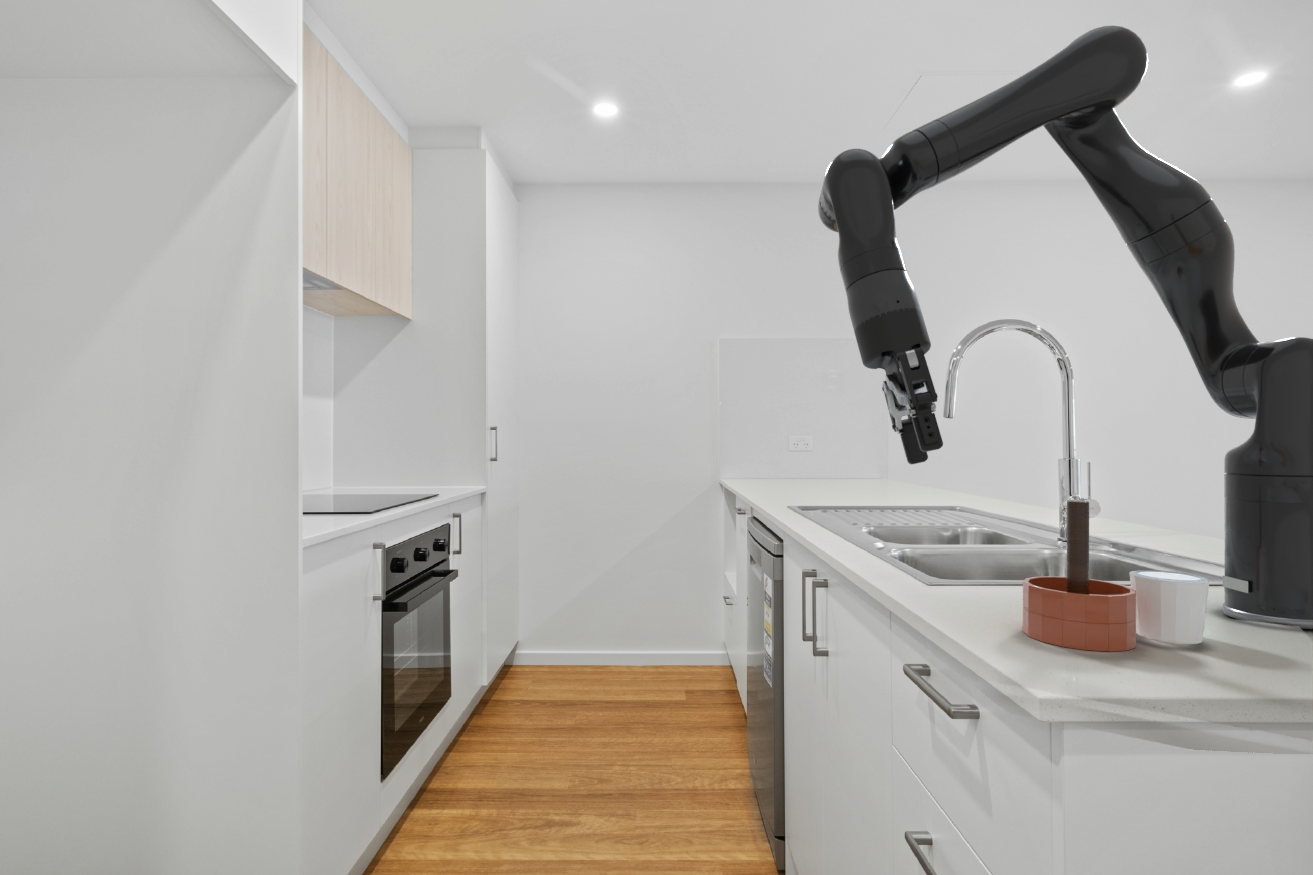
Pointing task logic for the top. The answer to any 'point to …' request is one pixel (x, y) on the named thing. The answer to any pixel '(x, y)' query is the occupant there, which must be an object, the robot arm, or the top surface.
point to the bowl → (1080, 614)
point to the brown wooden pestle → (1078, 546)
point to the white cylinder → (1170, 605)
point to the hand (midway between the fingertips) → (925, 456)
